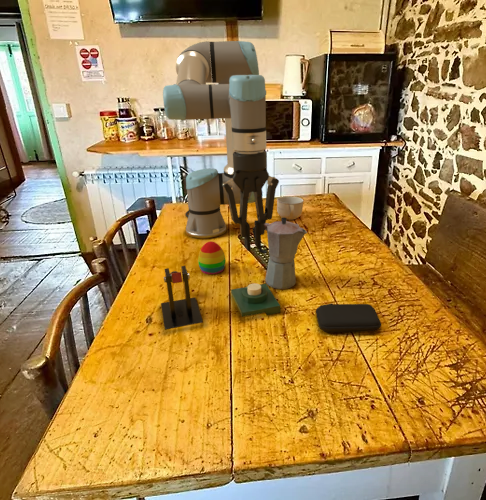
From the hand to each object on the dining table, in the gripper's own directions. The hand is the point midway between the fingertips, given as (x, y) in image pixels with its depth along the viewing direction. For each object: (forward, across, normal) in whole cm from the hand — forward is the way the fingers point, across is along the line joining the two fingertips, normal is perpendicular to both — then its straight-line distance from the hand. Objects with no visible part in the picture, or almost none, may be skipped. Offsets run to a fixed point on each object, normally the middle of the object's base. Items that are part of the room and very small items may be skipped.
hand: (252, 247), depth 97 cm
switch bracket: (+16, -19, +1) cm, 25 cm away
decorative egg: (+17, -7, +22) cm, 28 cm away
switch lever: (+9, -19, +5) cm, 22 cm away
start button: (+13, 0, 0) cm, 13 cm away
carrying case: (+17, +19, -15) cm, 29 cm away
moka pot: (+17, +10, +9) cm, 21 cm away
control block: (+16, 0, 0) cm, 16 cm away
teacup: (+17, +32, +58) cm, 68 cm away
